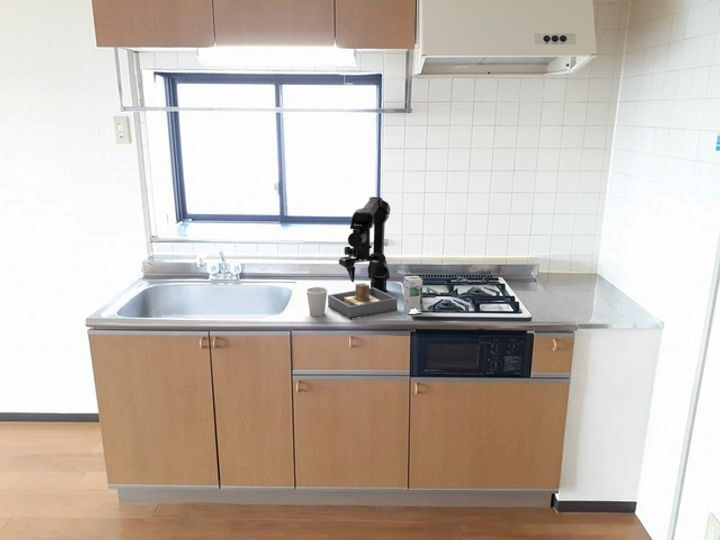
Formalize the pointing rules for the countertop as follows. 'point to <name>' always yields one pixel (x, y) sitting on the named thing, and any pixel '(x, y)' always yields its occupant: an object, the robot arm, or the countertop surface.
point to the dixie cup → (317, 300)
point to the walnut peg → (362, 292)
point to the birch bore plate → (353, 301)
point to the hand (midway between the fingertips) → (362, 280)
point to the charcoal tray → (383, 306)
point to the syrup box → (412, 293)
